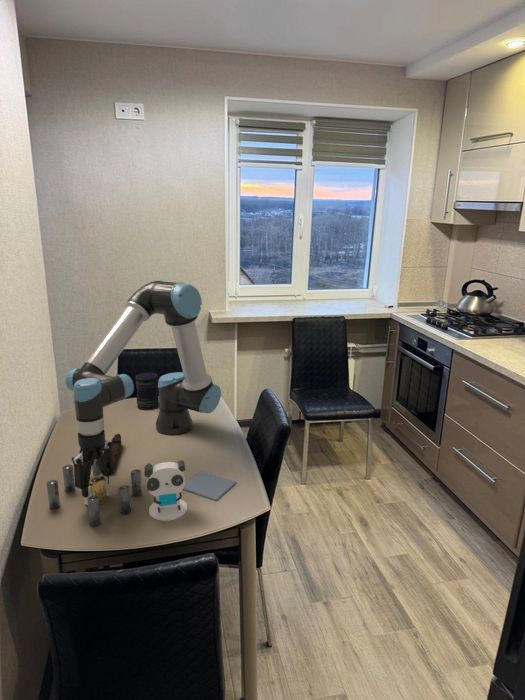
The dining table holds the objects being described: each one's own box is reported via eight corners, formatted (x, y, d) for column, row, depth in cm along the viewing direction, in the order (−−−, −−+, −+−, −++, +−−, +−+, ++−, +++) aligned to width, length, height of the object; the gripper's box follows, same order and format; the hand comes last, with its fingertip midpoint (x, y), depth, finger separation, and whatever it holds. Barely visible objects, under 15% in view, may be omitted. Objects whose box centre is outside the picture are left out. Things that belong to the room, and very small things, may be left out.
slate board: (201, 472, 164) (201, 470, 163) (236, 483, 157) (236, 481, 157) (179, 488, 153) (179, 487, 153) (216, 501, 147) (216, 499, 147)
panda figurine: (146, 523, 136) (144, 476, 132) (146, 501, 146) (144, 457, 142) (188, 517, 139) (187, 472, 135) (185, 496, 149) (184, 453, 145)
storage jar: (152, 400, 226) (151, 370, 222) (162, 407, 219) (161, 376, 215) (133, 405, 220) (131, 375, 216) (143, 412, 213) (141, 380, 209)
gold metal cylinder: (97, 493, 150) (95, 473, 148) (110, 498, 147) (108, 478, 146) (83, 502, 145) (81, 481, 143) (96, 507, 143) (94, 486, 141)
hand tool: (114, 475, 161) (113, 460, 160) (100, 475, 161) (99, 460, 159) (128, 444, 183) (127, 431, 182) (115, 444, 183) (114, 431, 181)
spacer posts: (91, 474, 161) (89, 452, 159) (152, 496, 149) (151, 474, 147) (39, 503, 144) (36, 480, 142) (103, 532, 132) (101, 506, 130)
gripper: (105, 417, 150) (110, 482, 156) (55, 439, 134) (63, 511, 140) (123, 422, 146) (127, 488, 152) (74, 446, 130) (81, 519, 137)
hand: (96, 499), depth 146 cm, fingers open, 6 cm apart
